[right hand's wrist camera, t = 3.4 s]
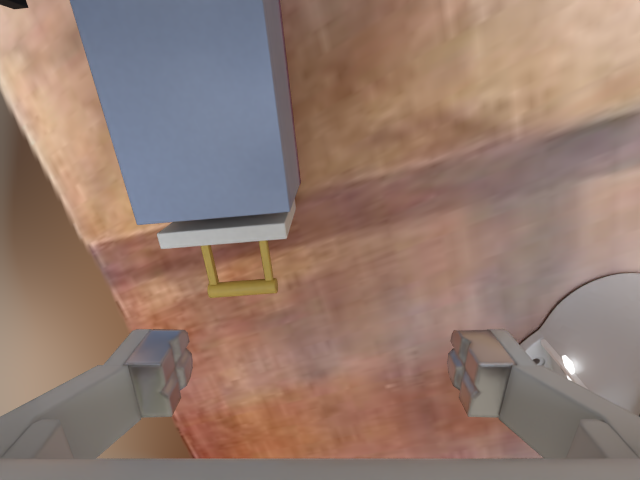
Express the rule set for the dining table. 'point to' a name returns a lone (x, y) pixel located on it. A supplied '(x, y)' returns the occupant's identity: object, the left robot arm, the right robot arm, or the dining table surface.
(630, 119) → the dining table surface
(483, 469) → the right robot arm
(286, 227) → the drawer
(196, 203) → the cabinet
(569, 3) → the dining table surface
